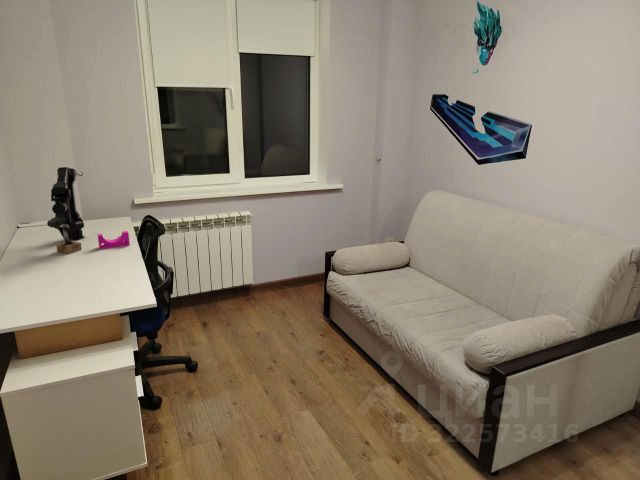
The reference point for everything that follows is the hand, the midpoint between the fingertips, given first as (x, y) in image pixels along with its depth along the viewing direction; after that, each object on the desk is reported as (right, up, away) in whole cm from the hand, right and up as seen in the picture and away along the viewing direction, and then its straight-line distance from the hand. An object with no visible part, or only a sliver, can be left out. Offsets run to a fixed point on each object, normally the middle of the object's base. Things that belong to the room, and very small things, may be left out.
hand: (68, 239), depth 232 cm
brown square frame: (0, -6, +2) cm, 6 cm away
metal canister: (0, -3, +1) cm, 3 cm away
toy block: (+19, -4, +12) cm, 23 cm away
